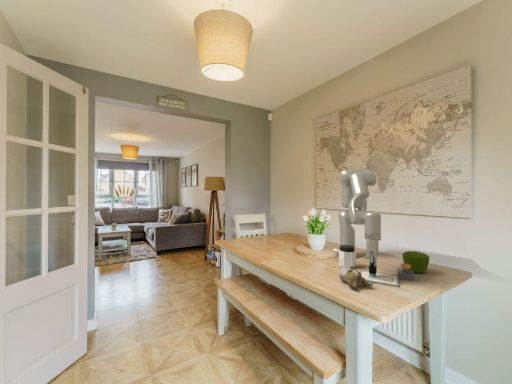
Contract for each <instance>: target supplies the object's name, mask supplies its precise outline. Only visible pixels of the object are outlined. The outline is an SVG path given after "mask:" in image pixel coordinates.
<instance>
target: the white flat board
mask: <svg viewBox="0 0 512 384" xmlns="http://www.w3.org/2000/svg"><path fill="white" fill-rule="evenodd" d="M359 272H360V273H361V275H362V277H363V278H365V279H367V280H368V282H369V283H371V284H373V283H374V284H379V285H384V286H390V287H391V286H392V287H395V288H396V287H397V288H400V279H399V277H398V275H392V274H387V273H386V274H385V273H382V272H376V277H372V276H370V274H369V271H366V270H360V271H359Z"/></svg>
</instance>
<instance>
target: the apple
mask: <svg viewBox="0 0 512 384" xmlns="http://www.w3.org/2000/svg"><path fill="white" fill-rule="evenodd" d="M402 260H403V262H402V263H404V264H410V265H411V269H408V270H411V271H414V274H422V273H425V272H427V271H428V267H429V263H430V256H429V255H428V254H427V253H425V252H421V251H415V250H414V251H413V250H407V251H404V252H403V253H402Z"/></svg>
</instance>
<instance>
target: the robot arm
mask: <svg viewBox="0 0 512 384" xmlns="http://www.w3.org/2000/svg"><path fill="white" fill-rule="evenodd" d="M339 181H340V182H339V183H340V185H341V206H342V207H343V208H344V209H342V210H341V211H339V212H338V220H339V221H338V222H339V246H340V245H351V246H354V247H355V248H356V230H355V229H354V227H353V225H360V226H361V225H362V226H364V240H366V245H365V247H366V248H365V259H366V260H369V261H368V272H369V274H376V273H378V272H377V271H378V269H377V267H378V266H377V265H378V264H377V263H376V266H375V261H376V262H377V260H378V257H379V242H380V241H382V216H381V215H382V214H381V213H380V212H379V211H378V212H377V211H374V210H368V209H367V208H368V201H367V198H369V197H370V190H369V188H368V187H374V186H375V185H376V184H377V176H376V174H375V173H374V171H372V170H369V169H366V168H365V169H364V168H361V169H360V168H357V169H356V168H355V169H354V168H351V169H350V168H349V169H342V170H341V171H340V172H339ZM339 250H340V248H333V252H334V251H335V253H337V256H338V257H339ZM357 258H358V254H356V253H355V259H357ZM373 259H375V260H373ZM373 261H374V262H373Z"/></svg>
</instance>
